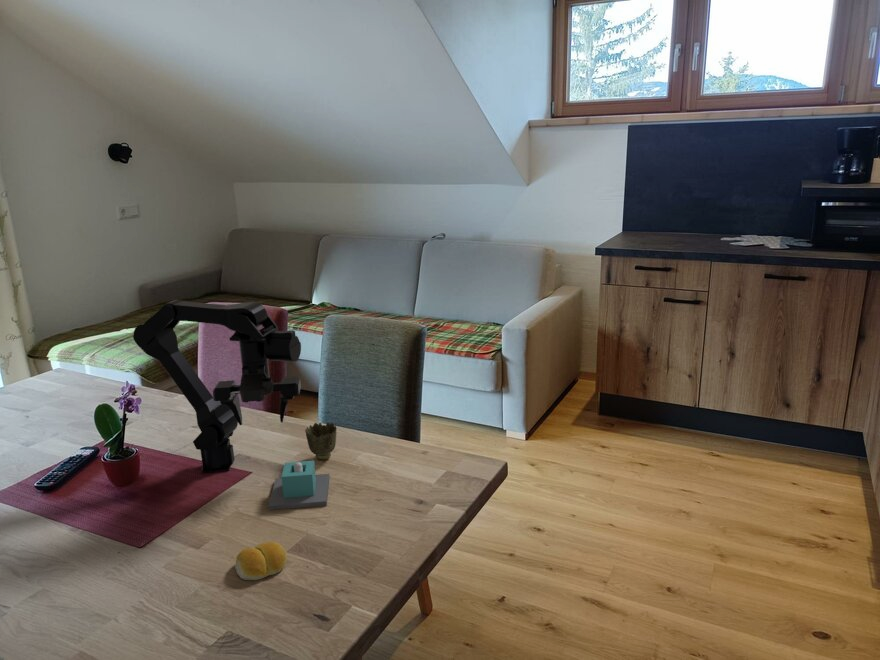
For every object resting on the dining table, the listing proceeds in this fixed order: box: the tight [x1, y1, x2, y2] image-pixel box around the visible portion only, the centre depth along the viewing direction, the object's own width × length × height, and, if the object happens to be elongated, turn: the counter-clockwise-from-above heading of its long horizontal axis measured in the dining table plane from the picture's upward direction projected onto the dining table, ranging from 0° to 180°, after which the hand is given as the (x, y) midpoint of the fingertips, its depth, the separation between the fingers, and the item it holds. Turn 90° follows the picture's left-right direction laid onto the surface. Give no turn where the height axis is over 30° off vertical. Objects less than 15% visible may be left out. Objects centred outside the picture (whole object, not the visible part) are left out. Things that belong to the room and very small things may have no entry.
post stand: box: [268, 461, 330, 511], centre depth 142 cm, size 12×12×7 cm
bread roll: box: [234, 541, 288, 581], centre depth 118 cm, size 8×9×4 cm
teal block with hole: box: [281, 460, 316, 498], centre depth 142 cm, size 6×6×5 cm
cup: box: [304, 422, 338, 462], centre depth 158 cm, size 8×7×8 cm
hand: (261, 423), depth 150 cm, fingers open, 9 cm apart
